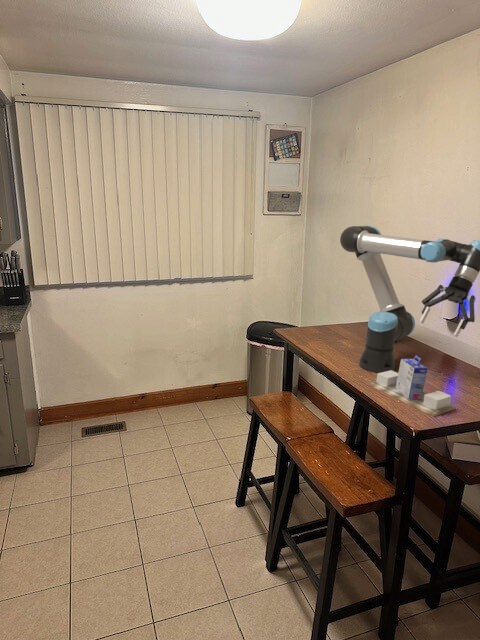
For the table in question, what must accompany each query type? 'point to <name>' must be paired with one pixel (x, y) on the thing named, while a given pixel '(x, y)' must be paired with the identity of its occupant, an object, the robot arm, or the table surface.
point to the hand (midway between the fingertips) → (437, 329)
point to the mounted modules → (431, 399)
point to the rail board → (413, 402)
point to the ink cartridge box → (411, 378)
